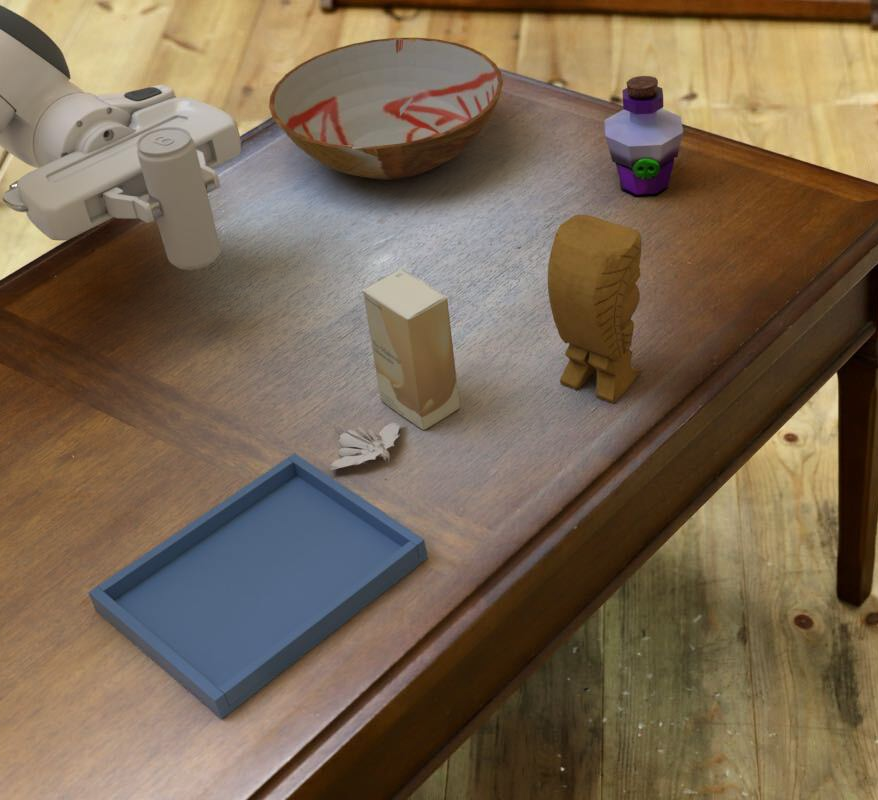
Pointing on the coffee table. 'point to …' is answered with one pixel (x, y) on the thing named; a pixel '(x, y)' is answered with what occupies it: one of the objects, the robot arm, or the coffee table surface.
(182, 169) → the beverage can
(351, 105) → the bowl
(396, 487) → the coffee table surface
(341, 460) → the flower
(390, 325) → the cosmetic box
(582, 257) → the figurine
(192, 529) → the tray
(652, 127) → the potion bottle
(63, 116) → the robot arm
